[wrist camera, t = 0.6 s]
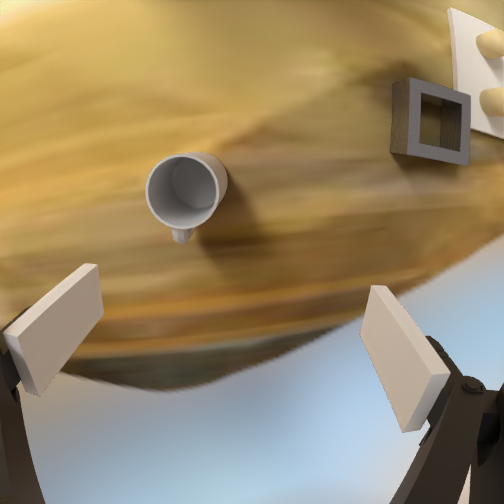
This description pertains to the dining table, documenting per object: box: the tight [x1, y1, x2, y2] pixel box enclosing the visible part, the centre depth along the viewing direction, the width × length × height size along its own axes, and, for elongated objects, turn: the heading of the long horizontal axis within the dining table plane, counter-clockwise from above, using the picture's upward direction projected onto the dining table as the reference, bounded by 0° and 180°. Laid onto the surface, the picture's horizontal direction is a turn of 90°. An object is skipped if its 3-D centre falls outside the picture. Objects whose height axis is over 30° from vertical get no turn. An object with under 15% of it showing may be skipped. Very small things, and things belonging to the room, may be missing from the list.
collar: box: [390, 77, 471, 166], centre depth 32 cm, size 9×9×5 cm
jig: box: [447, 7, 504, 139], centre depth 28 cm, size 18×12×7 cm, turn 178°
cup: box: [146, 152, 228, 245], centre depth 34 cm, size 7×10×9 cm
